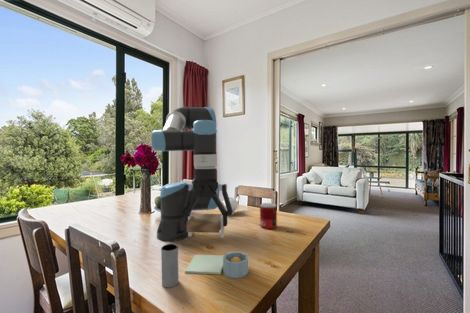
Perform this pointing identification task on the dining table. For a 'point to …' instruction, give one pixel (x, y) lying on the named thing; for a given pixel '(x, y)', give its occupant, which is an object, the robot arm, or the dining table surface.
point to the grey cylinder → (169, 265)
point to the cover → (204, 223)
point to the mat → (206, 264)
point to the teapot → (232, 203)
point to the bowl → (235, 264)
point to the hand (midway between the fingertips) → (206, 235)
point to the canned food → (268, 216)
